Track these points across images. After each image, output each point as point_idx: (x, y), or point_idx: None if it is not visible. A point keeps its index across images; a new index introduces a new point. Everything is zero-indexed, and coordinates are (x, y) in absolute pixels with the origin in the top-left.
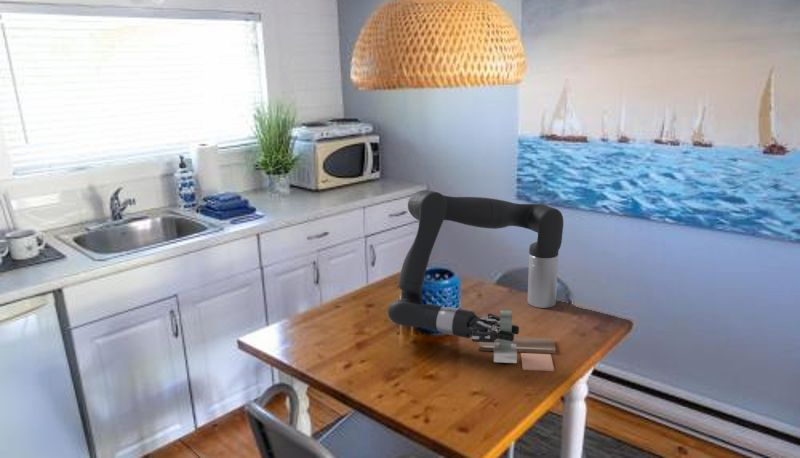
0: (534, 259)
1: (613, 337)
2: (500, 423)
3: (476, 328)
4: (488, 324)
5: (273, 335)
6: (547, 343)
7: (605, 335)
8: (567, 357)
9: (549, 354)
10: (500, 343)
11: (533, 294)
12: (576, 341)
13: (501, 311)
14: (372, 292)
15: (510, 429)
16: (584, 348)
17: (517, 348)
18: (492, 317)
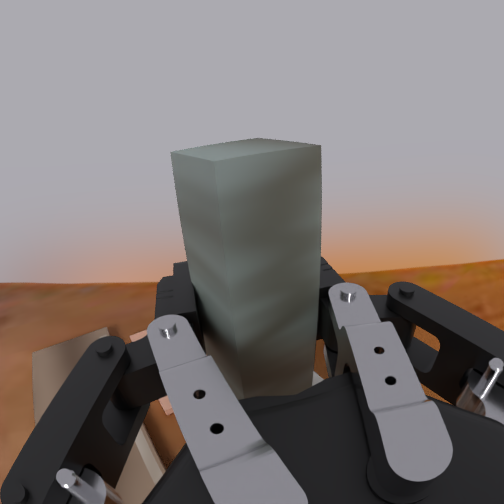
0: None
1: (17, 283)
2: (491, 275)
3: (482, 418)
4: (299, 408)
5: None
6: (67, 355)
7: (8, 292)
8: (124, 311)
9: (132, 337)
10: (309, 371)
11: None
12: (33, 320)
13: (234, 154)
14: None
15: (481, 262)
16: (66, 301)
17: (141, 427)
18: (70, 462)
